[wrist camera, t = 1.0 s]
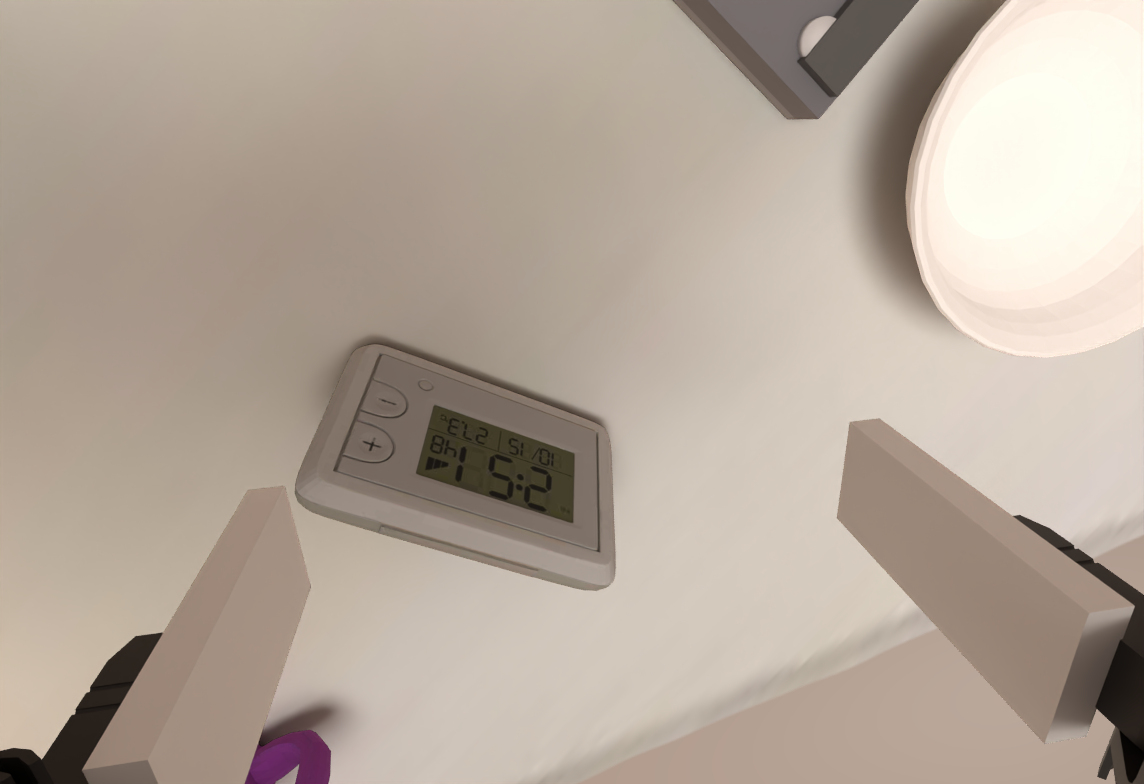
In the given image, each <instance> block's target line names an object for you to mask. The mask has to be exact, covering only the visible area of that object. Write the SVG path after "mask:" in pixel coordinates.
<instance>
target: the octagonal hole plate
mask: <svg viewBox="0 0 1144 784" xmlns="http://www.w3.org/2000/svg"><path fill="white" fill-rule="evenodd" d="M673 1H674V2H675V3H676V4H677V5H678V6H679V7H680V8H681V9H682V10H683V11H684V12H685V13H686V14H687V15H688V17H689V18H690V19H691V20H692V21H693V22H694V23H695V24H696V25H697V26H698V27H699V28H700V29H701V30H702V31H703V32H704V33H705V34H706V35H707V36H708V37H709V38H710V39H711V40H712V41H713V43H714V44H715V45H716V46H717V47H718V48H719V49H720V50H721V51H722V52H723V53H724V54H725V55H726V56H727V57H728V58H729V59H730V60H731V61H732V62H733V63H734V64H735V65H736V66H737V67H738V69H739V70H740V71H741V72H742V73H743V74H744V75H745V76H746V77H747V78H748V79H749V80H750V81H751V82H752V83H753V84H754V85H755V86H756V87H757V88H758V89H759V90H760V91H761V92H762V93H763V95H764V96H765V97H766V98H767V99H768V100H769V101H770V102H771V103H772V104H773V105H774V106H775V107H776V108H777V109H778V110H779V111H780V112H781V113H782V114H783V115H784V116H785V117H786V118H787V119H819V118H820V117H821V116H822V115H823V113H824V112H825V111H826V110H827V109H828V107H829V106H830V105H831V104H832V103H833V101H834V100H835V99H836V98H837V97H838V96H839V95H840V94H841V92H842V91H843V90H844V89H845V88H846V86H847V85H848V84H849V83H850V82H851V81H852V79H853V78H854V77H855V76H856V75H857V73H858V72H859V71H860V70H861V69H862V67H863V66H864V65H865V64H866V63H867V61H868V60H869V59H870V58H871V57H872V56H873V54H874V53H875V52H876V51H877V50H878V48H879V47H880V46H881V45H882V44H883V42H884V41H885V40H886V39H887V38H888V37H889V35H890V34H891V33H892V32H893V31H894V29H895V28H896V27H897V26H898V25H899V23H900V22H901V21H902V20H903V19H904V18H905V16H906V15H907V14H908V13H909V12H910V10H911V9H912V8H913V7H914V6H915V4H916V3H917V2H918V1H919V0H673Z"/></svg>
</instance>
